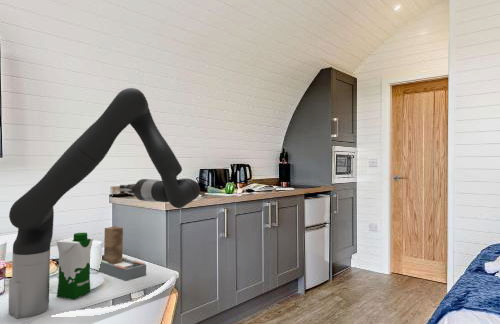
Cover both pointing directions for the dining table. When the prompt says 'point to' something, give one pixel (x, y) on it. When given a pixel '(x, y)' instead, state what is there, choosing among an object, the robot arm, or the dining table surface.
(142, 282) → the dining table surface
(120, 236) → the walnut block
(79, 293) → the milk carton
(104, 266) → the tray
